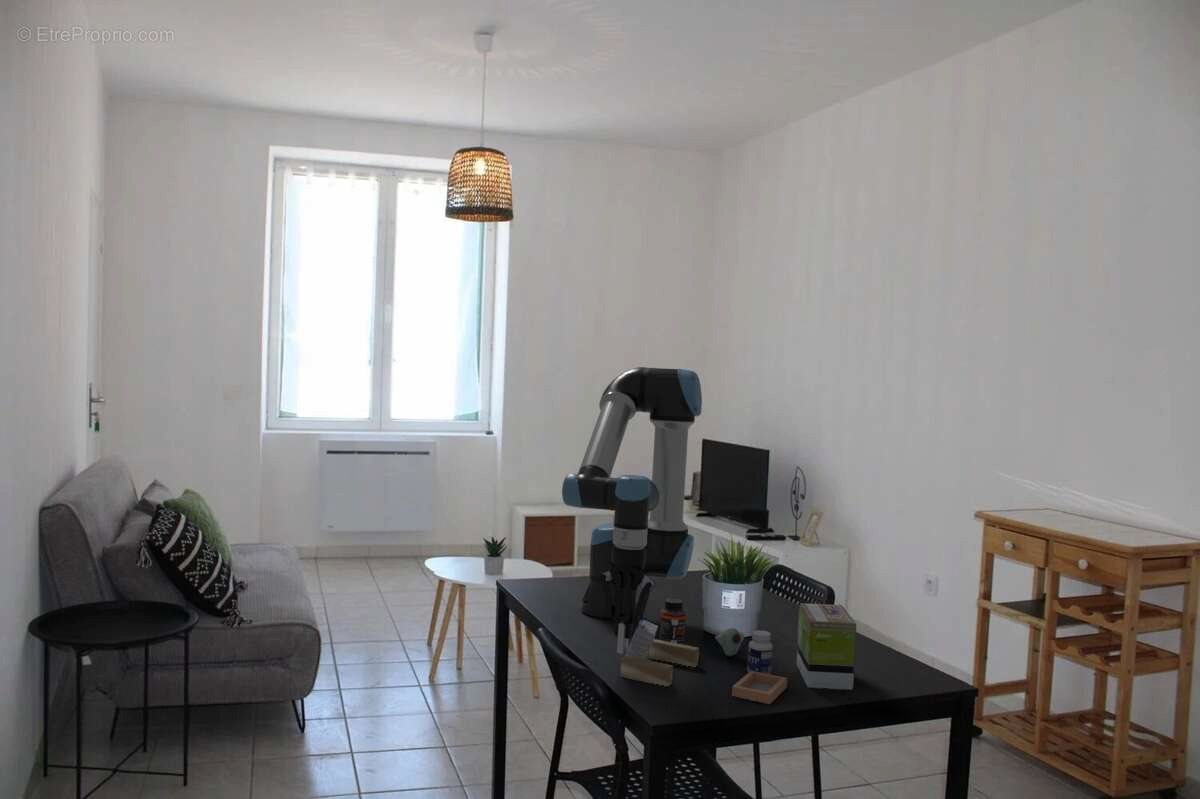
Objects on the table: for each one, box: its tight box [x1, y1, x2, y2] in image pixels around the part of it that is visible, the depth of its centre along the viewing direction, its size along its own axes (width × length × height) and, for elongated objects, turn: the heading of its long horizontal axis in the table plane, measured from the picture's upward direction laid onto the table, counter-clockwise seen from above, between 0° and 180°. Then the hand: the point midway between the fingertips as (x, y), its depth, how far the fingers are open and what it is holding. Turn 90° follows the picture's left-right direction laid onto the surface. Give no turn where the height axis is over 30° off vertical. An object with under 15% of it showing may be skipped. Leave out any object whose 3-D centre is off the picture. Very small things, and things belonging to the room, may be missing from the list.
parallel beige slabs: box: [620, 638, 700, 687], centre depth 219 cm, size 17×11×4 cm, turn 153°
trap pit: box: [731, 671, 788, 705], centre depth 209 cm, size 12×8×2 cm, turn 153°
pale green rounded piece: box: [714, 627, 746, 657], centre depth 231 cm, size 8×4×7 cm, turn 121°
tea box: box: [796, 602, 857, 691], centre depth 220 cm, size 15×10×15 cm, turn 178°
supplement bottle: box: [658, 598, 687, 645], centre depth 236 cm, size 6×6×11 cm
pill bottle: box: [746, 630, 774, 675], centre depth 221 cm, size 5×5×9 cm
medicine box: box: [625, 619, 659, 660], centre depth 221 cm, size 8×4×9 cm, turn 171°
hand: (622, 651), depth 222 cm, fingers closed
